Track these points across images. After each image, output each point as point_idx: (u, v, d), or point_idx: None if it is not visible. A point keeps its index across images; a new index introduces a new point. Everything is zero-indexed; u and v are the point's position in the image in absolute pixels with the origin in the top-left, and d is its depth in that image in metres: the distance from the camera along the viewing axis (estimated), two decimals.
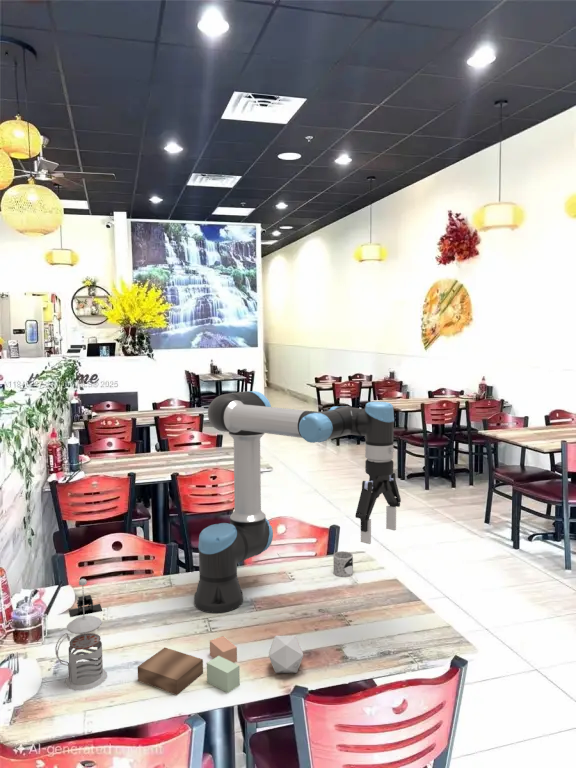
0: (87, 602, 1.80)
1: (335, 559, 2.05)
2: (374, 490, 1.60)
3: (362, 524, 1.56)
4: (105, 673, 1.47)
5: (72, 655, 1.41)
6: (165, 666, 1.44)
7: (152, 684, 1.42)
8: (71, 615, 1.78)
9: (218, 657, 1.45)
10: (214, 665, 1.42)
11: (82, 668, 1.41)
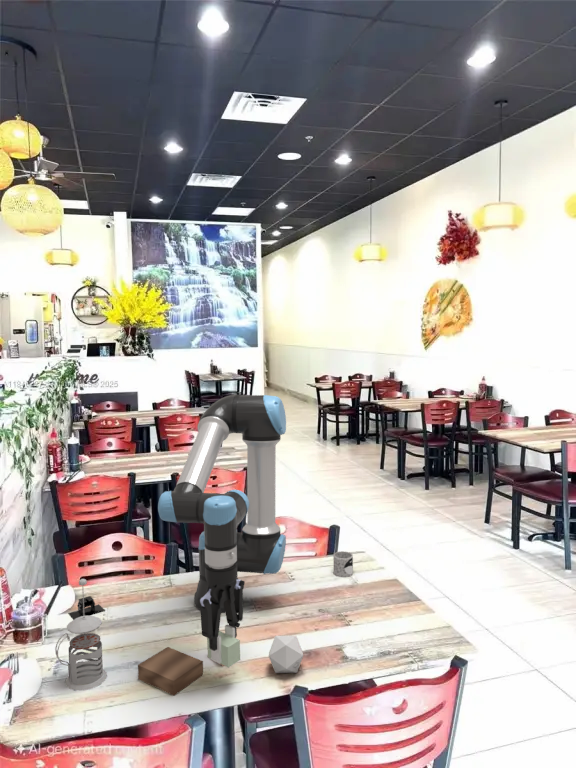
0: (89, 603, 1.80)
1: (335, 559, 2.05)
2: None
3: (210, 642, 1.39)
4: (105, 673, 1.47)
5: (72, 655, 1.41)
6: (165, 666, 1.44)
7: (151, 683, 1.42)
8: (74, 618, 1.76)
9: None
10: None
11: (82, 668, 1.41)
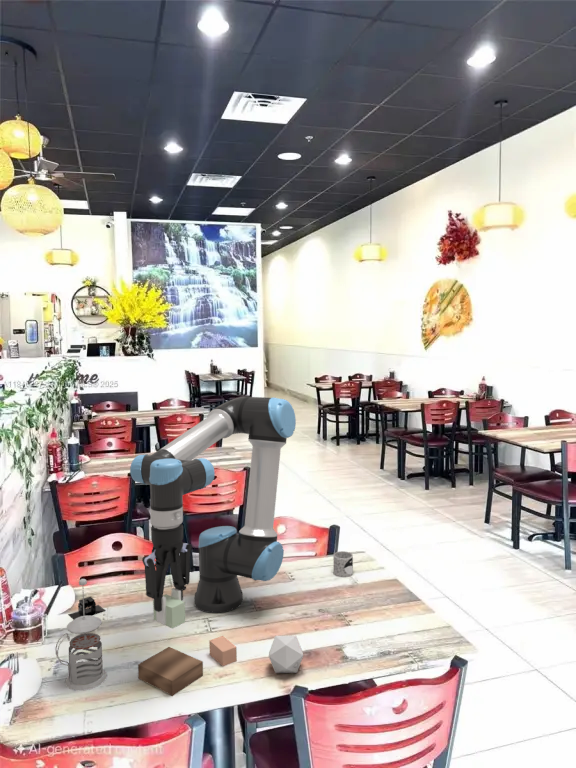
0: (90, 604, 1.79)
1: (335, 559, 2.05)
2: None
3: (155, 603, 1.41)
4: (105, 673, 1.47)
5: (72, 655, 1.41)
6: (165, 666, 1.44)
7: (150, 683, 1.42)
8: None
9: (165, 595, 1.47)
10: None
11: (82, 668, 1.41)
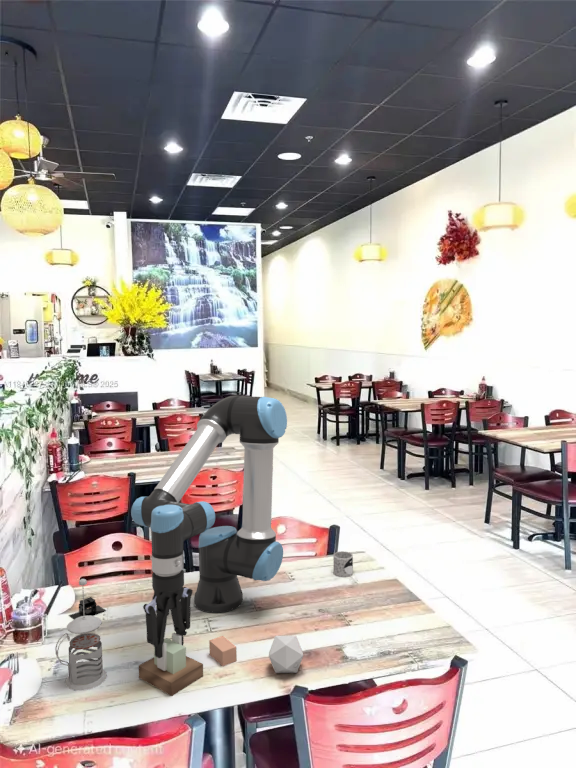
0: (90, 604, 1.79)
1: (335, 559, 2.05)
2: None
3: (156, 649, 1.42)
4: (105, 673, 1.47)
5: (72, 655, 1.41)
6: None
7: None
8: None
9: (166, 639, 1.48)
10: None
11: (82, 668, 1.41)
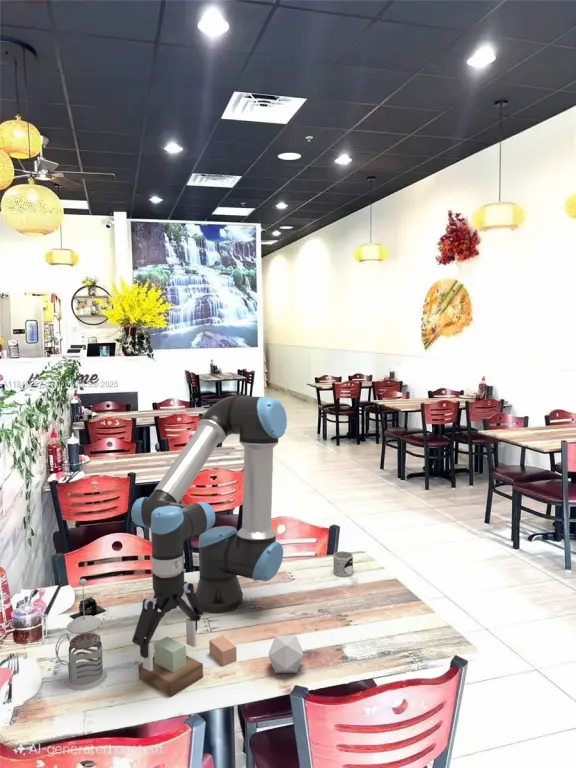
0: (91, 604, 1.79)
1: (335, 559, 2.05)
2: (160, 608, 1.42)
3: (141, 649, 1.38)
4: (105, 673, 1.47)
5: (72, 655, 1.41)
6: None
7: (150, 684, 1.42)
8: None
9: (166, 638, 1.47)
10: (160, 646, 1.44)
11: (82, 668, 1.41)
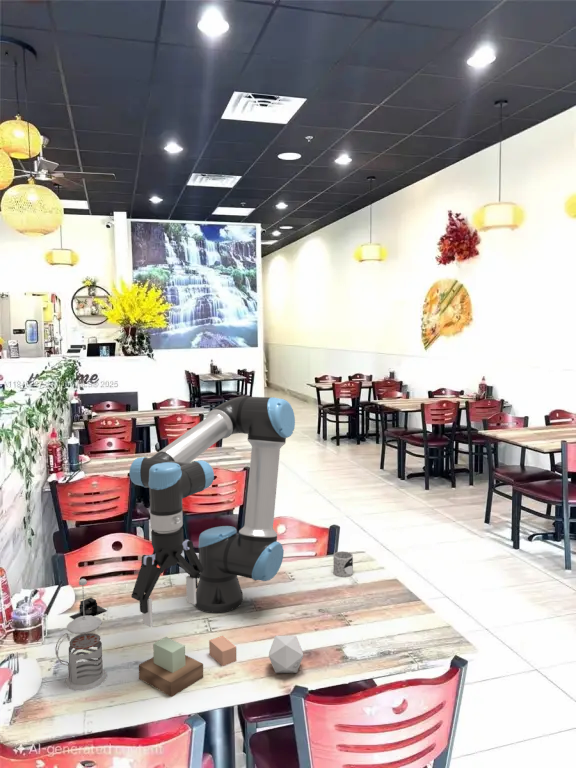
0: (91, 605, 1.79)
1: (335, 559, 2.05)
2: (159, 564, 1.41)
3: (141, 605, 1.38)
4: (105, 673, 1.47)
5: (72, 655, 1.41)
6: None
7: (150, 684, 1.42)
8: None
9: (165, 638, 1.47)
10: (160, 646, 1.44)
11: (82, 668, 1.41)
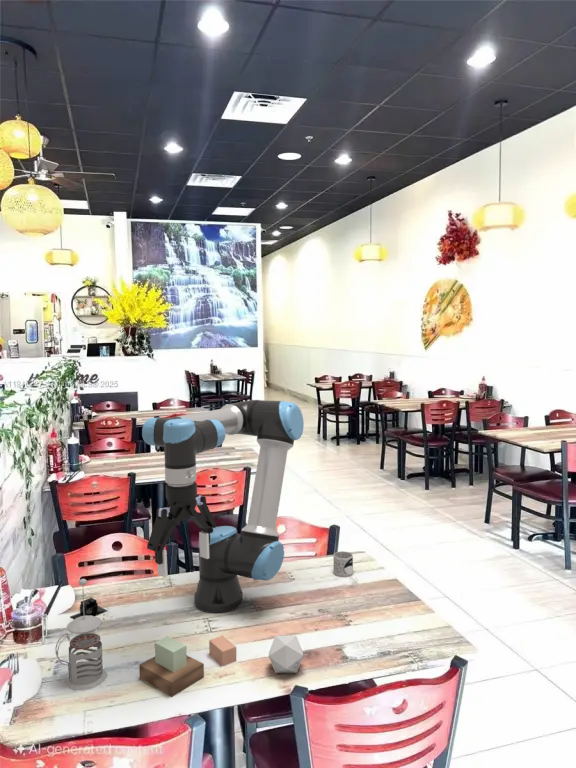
0: (92, 605, 1.79)
1: (335, 559, 2.05)
2: (173, 517, 1.44)
3: (156, 556, 1.41)
4: (105, 673, 1.47)
5: (72, 655, 1.41)
6: None
7: (151, 684, 1.42)
8: None
9: (167, 637, 1.48)
10: (161, 645, 1.44)
11: (82, 668, 1.41)
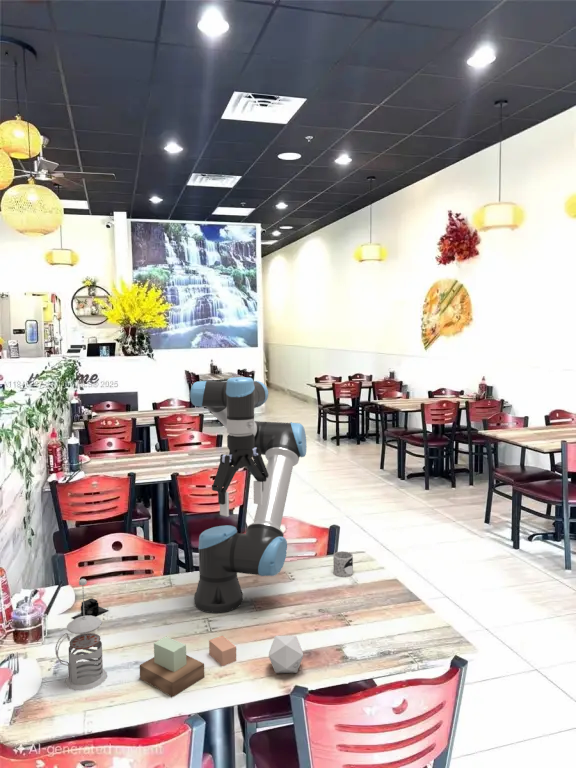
0: (93, 605, 1.78)
1: (335, 559, 2.05)
2: (234, 464, 1.62)
3: (219, 497, 1.59)
4: (105, 673, 1.47)
5: (72, 655, 1.41)
6: None
7: (151, 684, 1.42)
8: None
9: (165, 637, 1.48)
10: (160, 645, 1.44)
11: (82, 668, 1.41)
